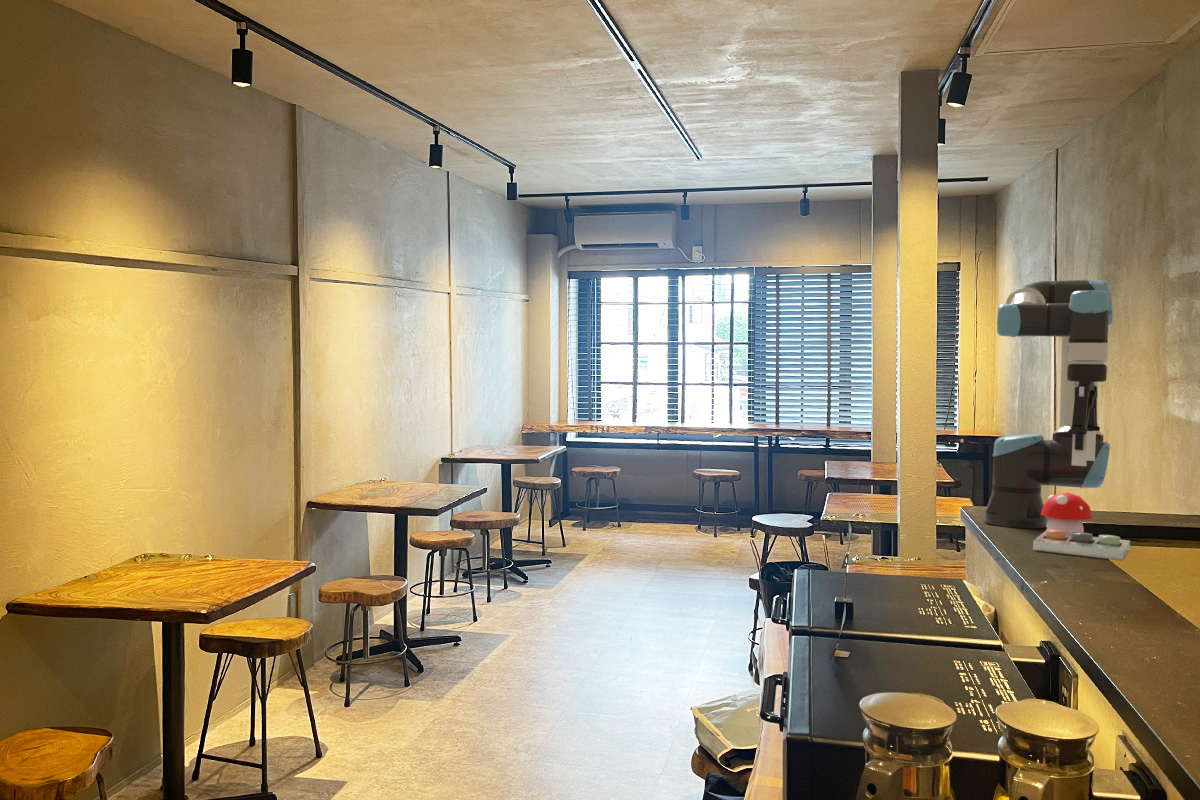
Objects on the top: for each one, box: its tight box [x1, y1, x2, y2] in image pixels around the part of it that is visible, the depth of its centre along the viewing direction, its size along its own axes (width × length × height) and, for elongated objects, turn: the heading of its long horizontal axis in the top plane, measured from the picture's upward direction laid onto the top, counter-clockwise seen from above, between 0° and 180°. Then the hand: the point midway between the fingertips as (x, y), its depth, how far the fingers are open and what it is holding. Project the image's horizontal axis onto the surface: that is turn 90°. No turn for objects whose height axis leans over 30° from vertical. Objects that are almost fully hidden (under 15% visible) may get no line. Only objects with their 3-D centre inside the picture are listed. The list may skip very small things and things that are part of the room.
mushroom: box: [1041, 492, 1094, 534], centre depth 216 cm, size 11×11×12 cm
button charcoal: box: [1072, 531, 1094, 544], centre depth 201 cm, size 4×4×2 cm
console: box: [1032, 531, 1131, 562], centre depth 202 cm, size 14×17×4 cm
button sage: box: [1098, 534, 1121, 547], centre depth 199 cm, size 4×4×2 cm
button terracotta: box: [1045, 528, 1066, 541], centre depth 204 cm, size 4×4×2 cm
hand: (1083, 463), depth 201 cm, fingers open, 12 cm apart
